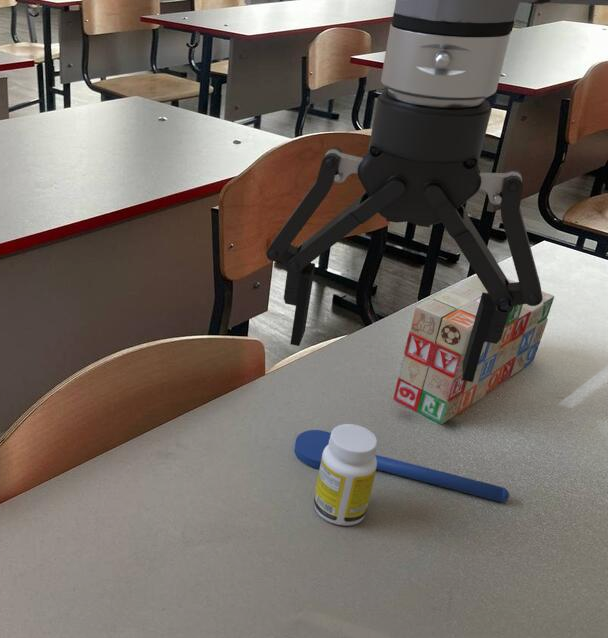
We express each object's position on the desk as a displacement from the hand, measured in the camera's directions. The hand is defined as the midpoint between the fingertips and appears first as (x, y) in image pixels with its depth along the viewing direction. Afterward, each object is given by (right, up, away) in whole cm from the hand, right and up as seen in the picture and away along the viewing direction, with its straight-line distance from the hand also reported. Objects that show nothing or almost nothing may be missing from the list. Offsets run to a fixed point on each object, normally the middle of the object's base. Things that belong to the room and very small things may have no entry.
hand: (379, 355), depth 63 cm
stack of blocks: (+19, -4, +28) cm, 34 cm away
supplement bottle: (-1, -15, +8) cm, 17 cm away
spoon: (+6, -12, +13) cm, 19 cm away
